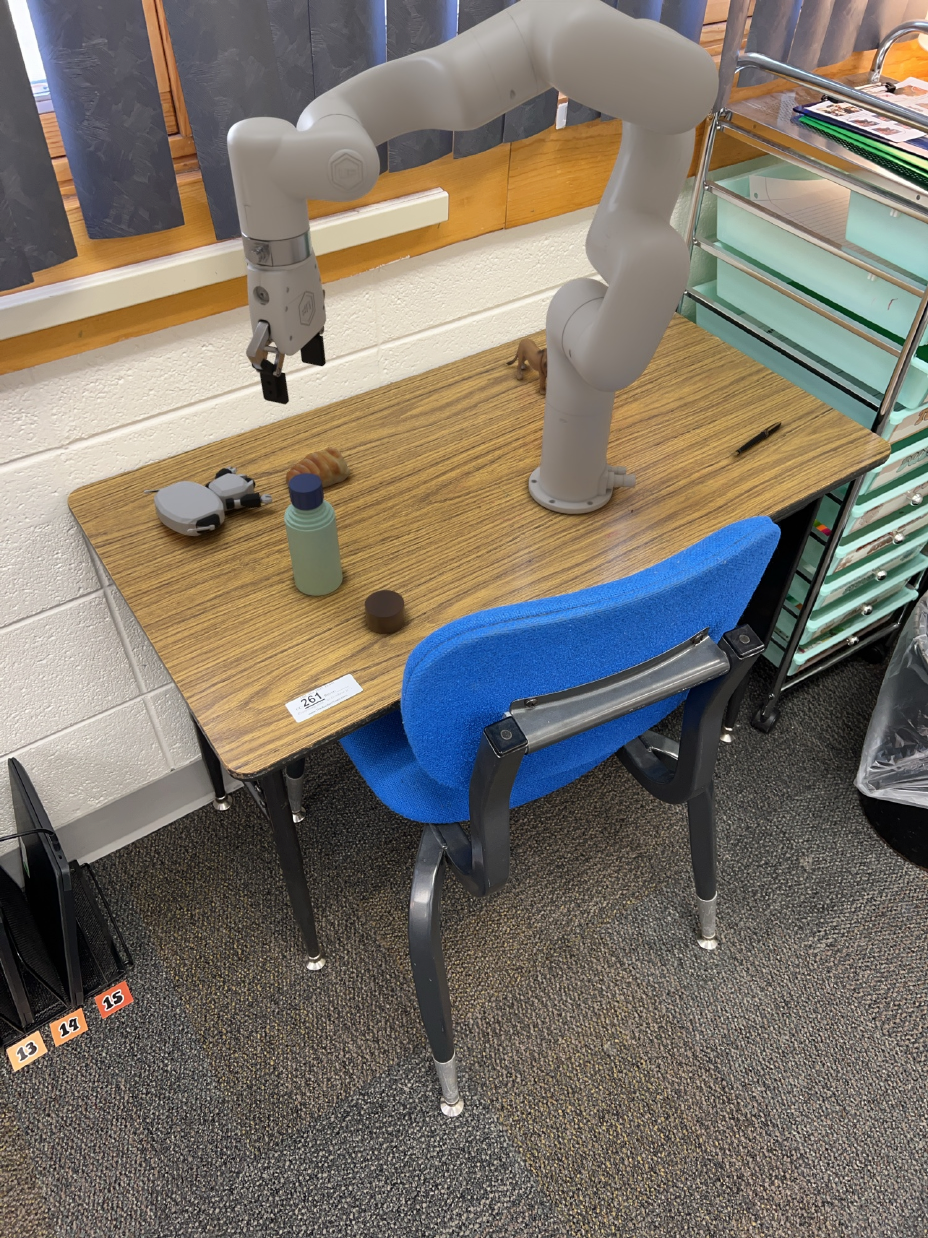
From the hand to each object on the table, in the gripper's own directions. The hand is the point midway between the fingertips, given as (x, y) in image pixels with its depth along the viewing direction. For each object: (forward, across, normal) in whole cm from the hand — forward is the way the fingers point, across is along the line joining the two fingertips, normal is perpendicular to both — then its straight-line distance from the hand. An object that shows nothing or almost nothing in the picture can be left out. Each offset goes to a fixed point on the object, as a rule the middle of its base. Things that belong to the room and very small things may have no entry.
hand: (295, 381), depth 114 cm
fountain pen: (+24, +46, -56) cm, 76 cm away
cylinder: (+24, -13, -17) cm, 32 cm away
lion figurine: (+24, +51, -18) cm, 59 cm away
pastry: (+24, +12, +5) cm, 27 cm away
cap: (+8, -9, -5) cm, 13 cm away
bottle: (+24, -9, -5) cm, 26 cm away
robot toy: (+24, -2, +16) cm, 29 cm away
